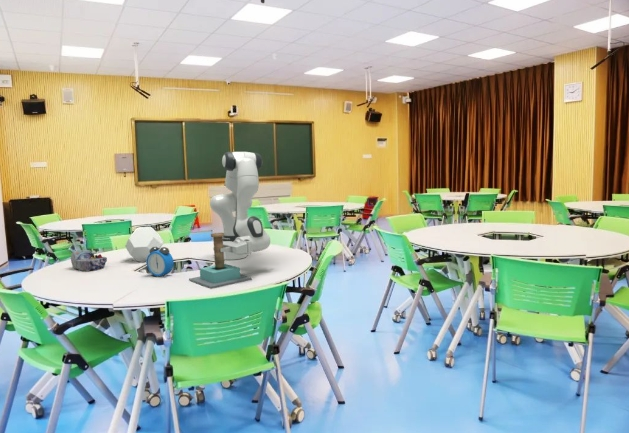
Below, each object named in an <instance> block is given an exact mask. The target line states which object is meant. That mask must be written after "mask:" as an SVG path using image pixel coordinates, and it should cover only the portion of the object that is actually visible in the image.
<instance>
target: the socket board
mask: <svg viewBox="0 0 629 433" xmlns="http://www.w3.org/2000/svg"><path fill="white" fill-rule="evenodd" d="M224 267H225V268H224V269H221V270H216V269H215V265H210V266H206V267H200V268H199V276H197V277H196V276H195V277H192V278H189V279H188V281H189V282H192V283H194V284H197V285H200V286H202V287H205V288H207V289H210V290H212V289H217V288H221V287H225V286H229V285H230V286H231V285H234V284H238V283H243V282H248V281H251V280H253V278H252V277H250V276H247V275H245V274H241V268H240V267H239V266H236V265H231V264H227V263H224Z"/></svg>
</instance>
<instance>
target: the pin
mask: <svg viewBox="0 0 629 433" xmlns="http://www.w3.org/2000/svg"><path fill="white" fill-rule="evenodd" d="M223 236H225V234H224V232H213V233H210V237H211V238H212V240H213V247H214V250H213V253H214V254H213V257H214V256H215V257H214V266H215V269H216V270H221V269H224V268H225V267H224V264H225V260H224V252H220V251H219V249H220V248H223Z"/></svg>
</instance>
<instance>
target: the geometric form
mask: <svg viewBox="0 0 629 433" xmlns="http://www.w3.org/2000/svg"><path fill="white" fill-rule="evenodd" d="M164 243H165V242H164V239H163V238H162V237H161V235H160V233H158V231H157V230H156V229H154V228H153V227H152V226H139V227H137V228H135V230H134V231H133V232H132V234H131V235H130V236H129V237H128V239H127V241H126V243H125V245H124V247H125V249H126V251H127V252H128V254H129V255H130V256H131V257H133V259H135V260H136V261H137V262H140V263H141V262H147V257H148V255H149V254H150V252H149V251H150V249H151V248H152V247H158V248H160V249H161V248H162V247H163V244H164ZM160 249H159V250H160Z"/></svg>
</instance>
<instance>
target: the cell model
mask: <svg viewBox="0 0 629 433" xmlns="http://www.w3.org/2000/svg"><path fill="white" fill-rule="evenodd" d="M70 262H71V265H72V269H77V270H78V271H79V270H80V271H81V272H82V271H83V272H89V271H97V270H99V269H103V268H104V267H105V266H106V263H107V262H108V257H106V256H102V255H101V253H99V254H94V253H93V252H92V251H91V250H90V249H85V250H84V249H82V250H81V249H78V250H77V249H76V250H75V251H73V252H72V253H70Z"/></svg>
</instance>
